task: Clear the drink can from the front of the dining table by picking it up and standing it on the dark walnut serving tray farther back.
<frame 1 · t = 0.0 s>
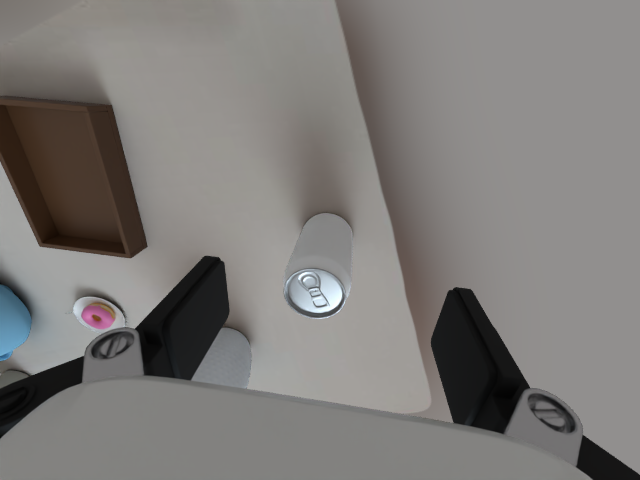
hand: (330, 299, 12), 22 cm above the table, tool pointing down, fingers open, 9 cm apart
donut: (98, 312, 48), on the table
travel mug: (25, 380, 61), on the table
mug: (229, 344, 47), on the table
can: (327, 234, 35), on the table
tray: (83, 179, 36), on the table
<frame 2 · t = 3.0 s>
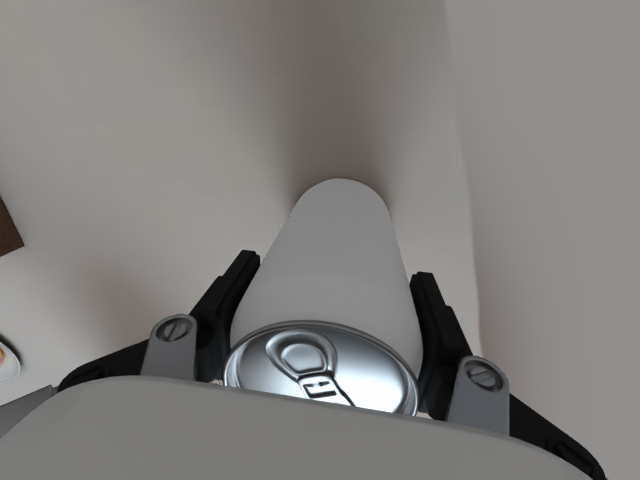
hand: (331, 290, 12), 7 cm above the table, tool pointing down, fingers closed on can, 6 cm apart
can: (340, 223, 19), on the table, touching gripper
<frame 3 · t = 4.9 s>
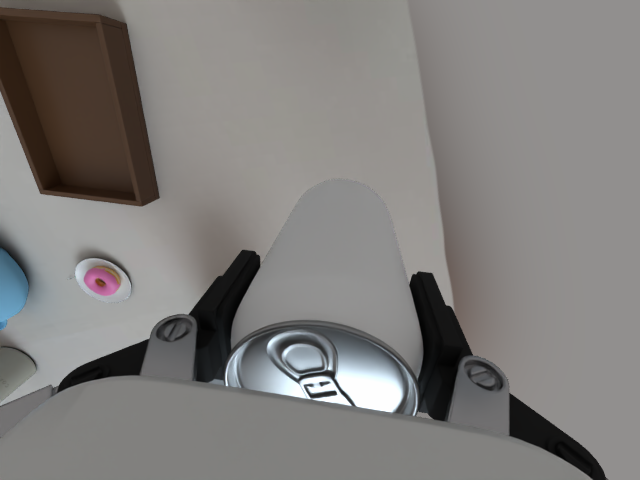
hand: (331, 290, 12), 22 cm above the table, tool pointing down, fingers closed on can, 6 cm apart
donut: (101, 278, 44), on the table
travel mug: (19, 359, 56), on the table
can: (340, 223, 19), point 15 cm above the table, touching gripper
tray: (91, 116, 32), on the table
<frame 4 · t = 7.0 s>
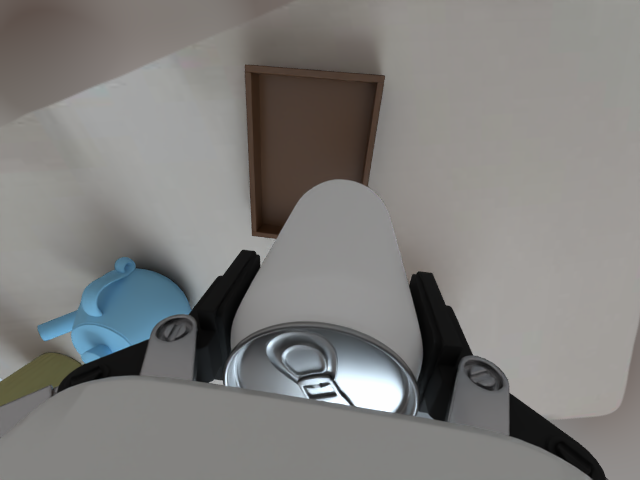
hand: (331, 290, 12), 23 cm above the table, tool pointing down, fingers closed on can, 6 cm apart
can: (340, 224, 19), point 16 cm above the table, touching gripper
teapot: (144, 296, 47), on the table
tray: (312, 161, 33), on the table
potted cactus: (66, 370, 59), on the table
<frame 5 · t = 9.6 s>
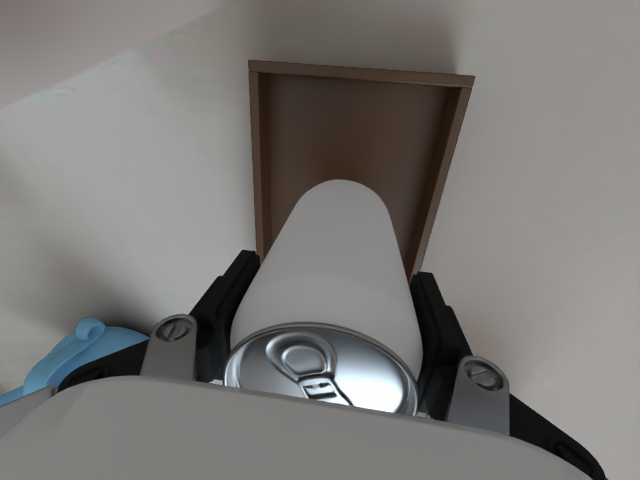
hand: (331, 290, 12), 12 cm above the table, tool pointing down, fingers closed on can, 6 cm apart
can: (340, 224, 19), point 5 cm above the table, touching gripper
teapot: (121, 354, 37), on the table
tray: (343, 198, 23), on the table
when the fingers open (8 cm above the table, at t = 11.3 s): can stays where it is, resting on tray.
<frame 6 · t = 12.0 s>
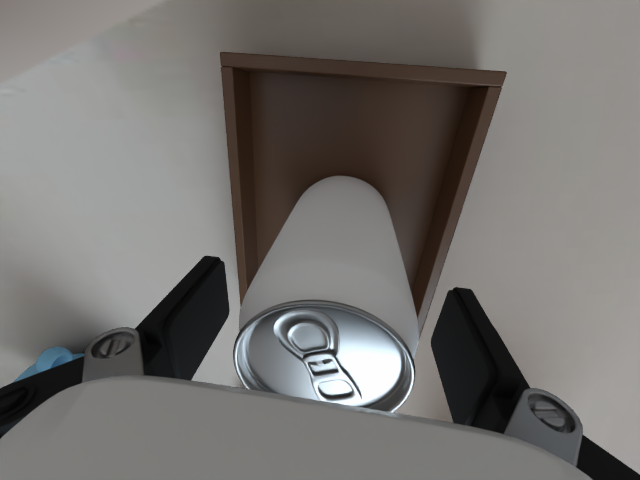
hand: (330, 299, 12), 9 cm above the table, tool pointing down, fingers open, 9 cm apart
can: (341, 219, 19), point 1 cm above the table, touching tray
teapot: (97, 381, 34), on the table
tray: (341, 216, 20), on the table
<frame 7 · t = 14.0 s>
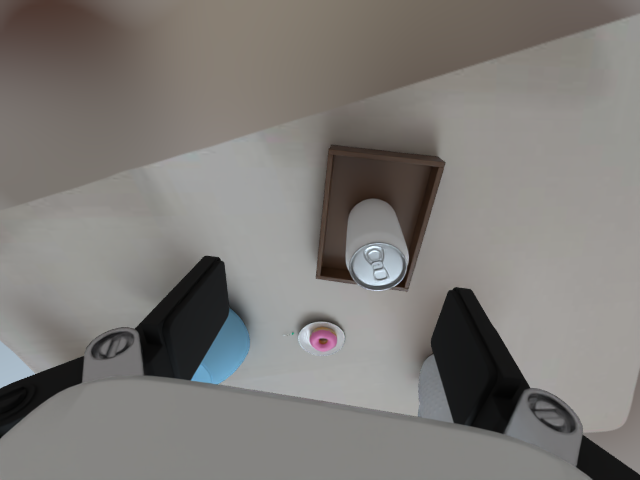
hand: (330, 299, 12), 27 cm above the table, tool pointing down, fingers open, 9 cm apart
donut: (314, 335, 50), on the table
mug: (439, 366, 50), on the table
can: (371, 219, 38), point 1 cm above the table, touching tray
teapot: (203, 322, 52), on the table
tray: (371, 218, 39), on the table
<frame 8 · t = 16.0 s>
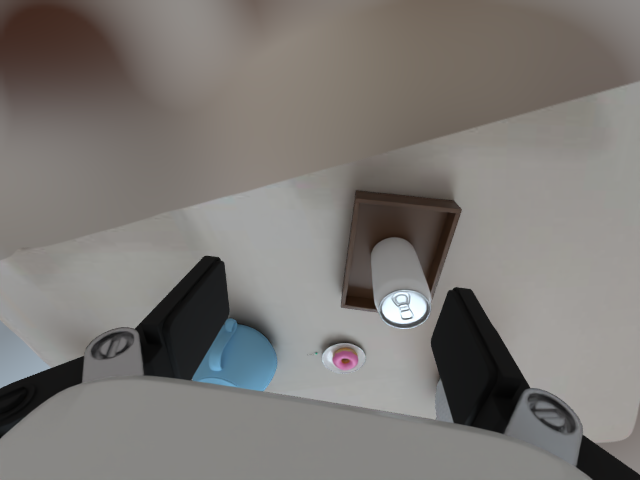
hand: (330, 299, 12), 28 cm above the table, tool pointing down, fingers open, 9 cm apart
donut: (336, 354, 54), on the table
mug: (453, 383, 54), on the table
can: (392, 254, 42), point 1 cm above the table, touching tray
teapot: (232, 342, 56), on the table
tray: (391, 252, 42), on the table
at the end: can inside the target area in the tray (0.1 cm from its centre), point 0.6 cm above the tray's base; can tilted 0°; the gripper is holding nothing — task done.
